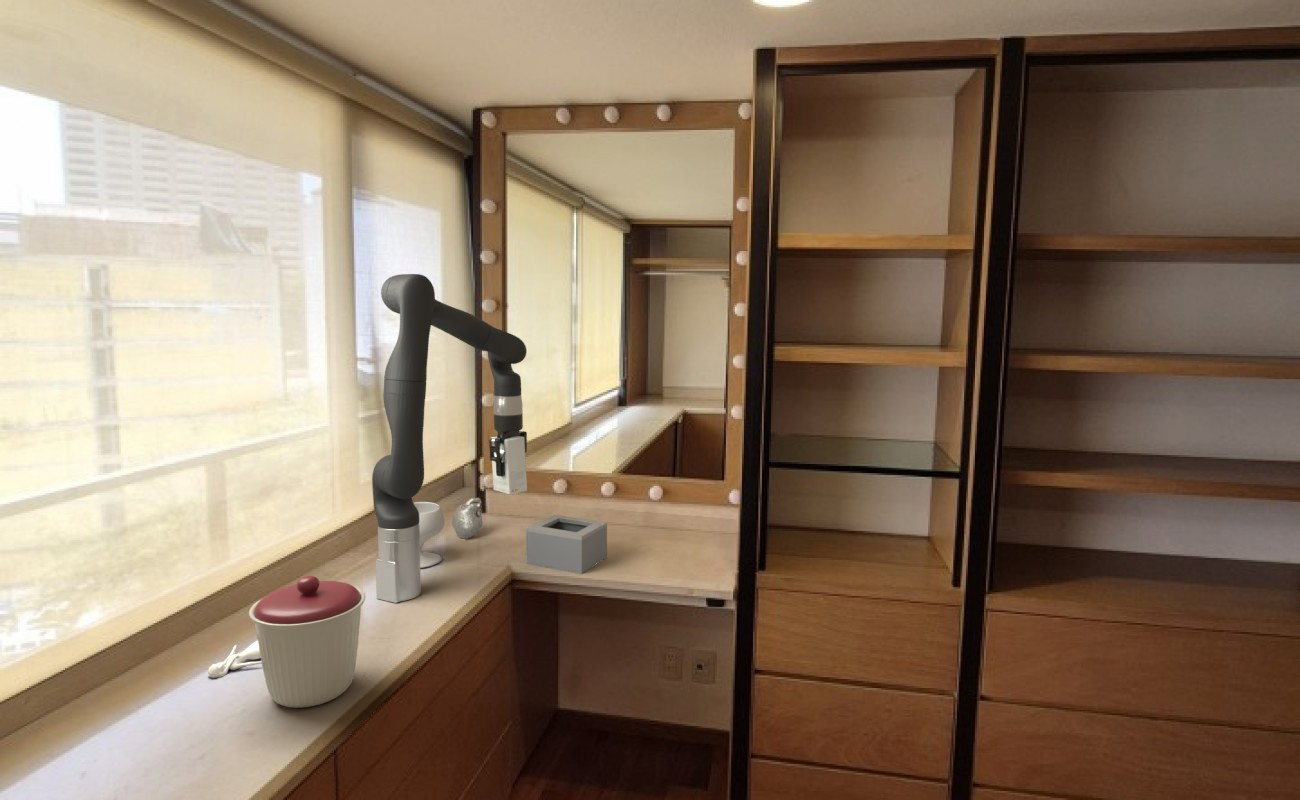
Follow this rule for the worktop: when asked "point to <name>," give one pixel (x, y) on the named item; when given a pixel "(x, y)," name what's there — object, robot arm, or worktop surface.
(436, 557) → the chalice
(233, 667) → the woman figurine
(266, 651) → the canister
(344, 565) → the worktop surface
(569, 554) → the open gray box
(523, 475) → the skincare box
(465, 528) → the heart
